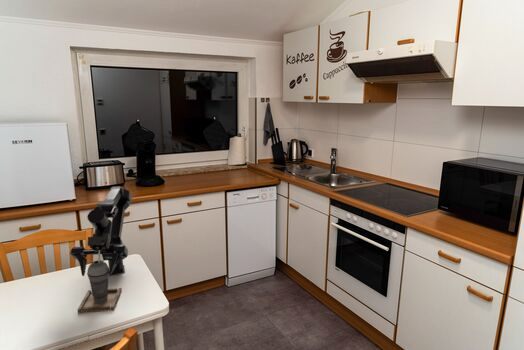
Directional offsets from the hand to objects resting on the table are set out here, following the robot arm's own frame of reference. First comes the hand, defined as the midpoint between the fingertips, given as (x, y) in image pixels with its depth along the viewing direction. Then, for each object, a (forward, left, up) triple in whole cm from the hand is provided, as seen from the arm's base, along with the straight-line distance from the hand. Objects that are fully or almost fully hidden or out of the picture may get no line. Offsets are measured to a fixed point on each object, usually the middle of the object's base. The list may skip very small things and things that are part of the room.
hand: (96, 275), depth 127 cm
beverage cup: (-1, 0, -11) cm, 11 cm away
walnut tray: (-1, 0, -12) cm, 12 cm away
